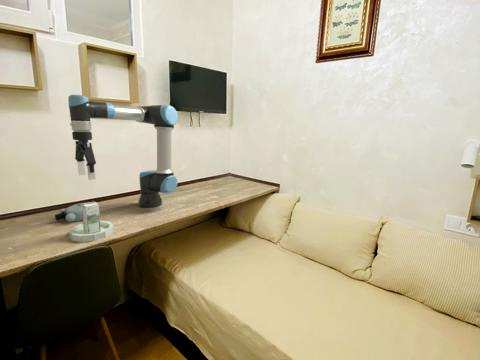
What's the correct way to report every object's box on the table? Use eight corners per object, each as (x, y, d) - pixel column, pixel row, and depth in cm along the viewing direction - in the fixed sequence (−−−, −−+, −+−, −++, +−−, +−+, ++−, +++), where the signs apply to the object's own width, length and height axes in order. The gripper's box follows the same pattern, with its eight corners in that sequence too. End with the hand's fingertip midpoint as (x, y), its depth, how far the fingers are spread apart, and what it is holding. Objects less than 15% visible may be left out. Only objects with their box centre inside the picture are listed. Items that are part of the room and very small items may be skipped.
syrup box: (96, 228, 127) (93, 200, 124) (101, 231, 124) (98, 203, 121) (84, 231, 123) (80, 203, 120) (88, 235, 119) (85, 206, 116)
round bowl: (105, 223, 136) (104, 218, 136) (119, 233, 124) (119, 227, 124) (65, 233, 123) (65, 227, 122) (77, 245, 111) (76, 239, 110)
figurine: (91, 209, 156) (53, 221, 142) (88, 197, 153) (49, 207, 139) (102, 216, 145) (62, 230, 131) (99, 203, 142) (58, 215, 128)
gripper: (64, 130, 119) (69, 174, 123) (81, 132, 102) (87, 182, 107) (82, 130, 124) (86, 172, 129) (101, 132, 108) (105, 180, 112)
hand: (87, 177), depth 118 cm, fingers open, 13 cm apart
